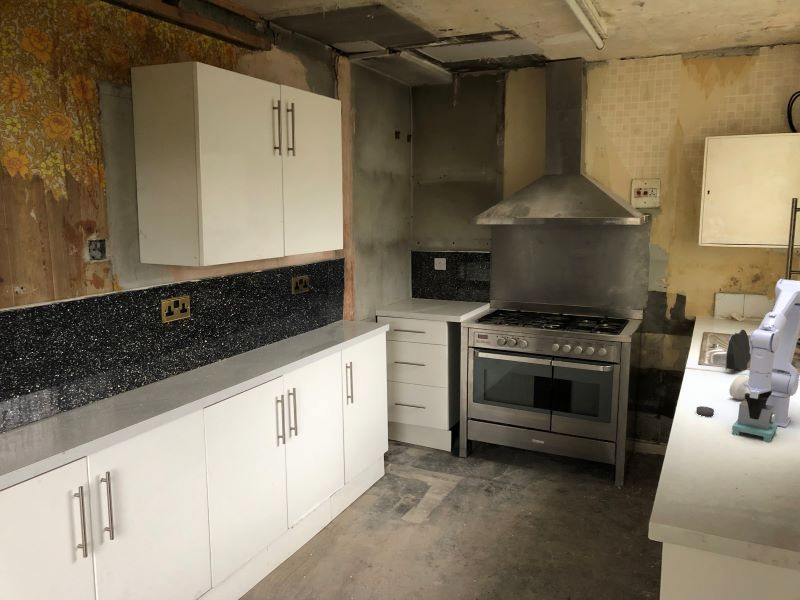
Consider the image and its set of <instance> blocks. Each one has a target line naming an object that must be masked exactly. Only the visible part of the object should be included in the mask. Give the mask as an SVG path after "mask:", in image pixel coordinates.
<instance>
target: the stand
mask: <svg viewBox="0 0 800 600" xmlns="http://www.w3.org/2000/svg"><path fill="white" fill-rule="evenodd" d="M737 423H738V419H736V421H735V422H734V423H733V424H732V427H731V431H732V435H735V434H737V436H740V434H741V433H746V434H749V435H756V436H759V437H763V442H768V443H770V442H771V441H772V438H773V436H774V435H776V433H777V429H778V427H779V426H778V424H772V426H771V427H770V429H769V430H763V429H758V428H753V427H749V426H744V425H739V424H737Z"/></svg>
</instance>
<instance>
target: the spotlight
mask: <svg viewBox="0 0 800 600" xmlns="http://www.w3.org/2000/svg"><path fill="white" fill-rule="evenodd" d="M748 381H749V377H746V376H744V375H740V376H738V377H736V378H735V379H734V380H733V381H732V383H731V385H730V387H729V395H730V397H732V398H734V399H736V400H738V401H743V400H744V401H745V400H746V399H745V394H746V393H749V394H750V390H749V389H748V387H746V386H743V385H744V383H748Z"/></svg>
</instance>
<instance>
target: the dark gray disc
mask: <svg viewBox="0 0 800 600" xmlns="http://www.w3.org/2000/svg"><path fill="white" fill-rule="evenodd" d="M696 413H697V414H698V415H697V414H696ZM714 413H715V410H714V408H712V407H709V406H701V405H700V406H697V407H696V411H695V414H696V415H697V416H699V415H701V416H700V417H703V416H705V418H712V417H711V416H713V415H714ZM713 417H714V416H713Z"/></svg>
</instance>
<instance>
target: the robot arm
mask: <svg viewBox="0 0 800 600" xmlns="http://www.w3.org/2000/svg"><path fill="white" fill-rule="evenodd" d="M774 294H775V299H776V301H775V304H774V307H773V309H772V310H771V311H769V312H767V313H766V314H765V316H764V317H763V319H762V320H761V323H760V324H759V326H758V328H757V329H755V330H752V331H751V332H750V335H749V346H750V354H751V358H750V361H749V363H750V364H749V365H750V366H749V373H748V378H749V381H748V383H744V385H743V386H746V387H748V389H749V390H750V394H749V393H746V394H745V399H744V400H745V401H747V404H748V408H749V416H750V418H751V419H756V420H758V419H759V416H760V413H761V410H762V407H763V405H764V404H765V405H770V406H774V409H773V413H774V414H776V421H775V424H778V426H777V427H783V428H787V426H788V425H789V423H790V422H791V420H792V417H789V408H790V399H791V397H793V396H794V395H795V394H796V393H797V391H798V388H799V383H800V382H799V379H800V372H799V371H798V370H797V368H796V367H795V366H794V365H793V364H792V363H793V358H794V355H795V350H796V347H797V344H798V339H799V335H800V280H792V279H784V278H780V279H779V280H778V281H777V282H776V284H775V288H774Z"/></svg>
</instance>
